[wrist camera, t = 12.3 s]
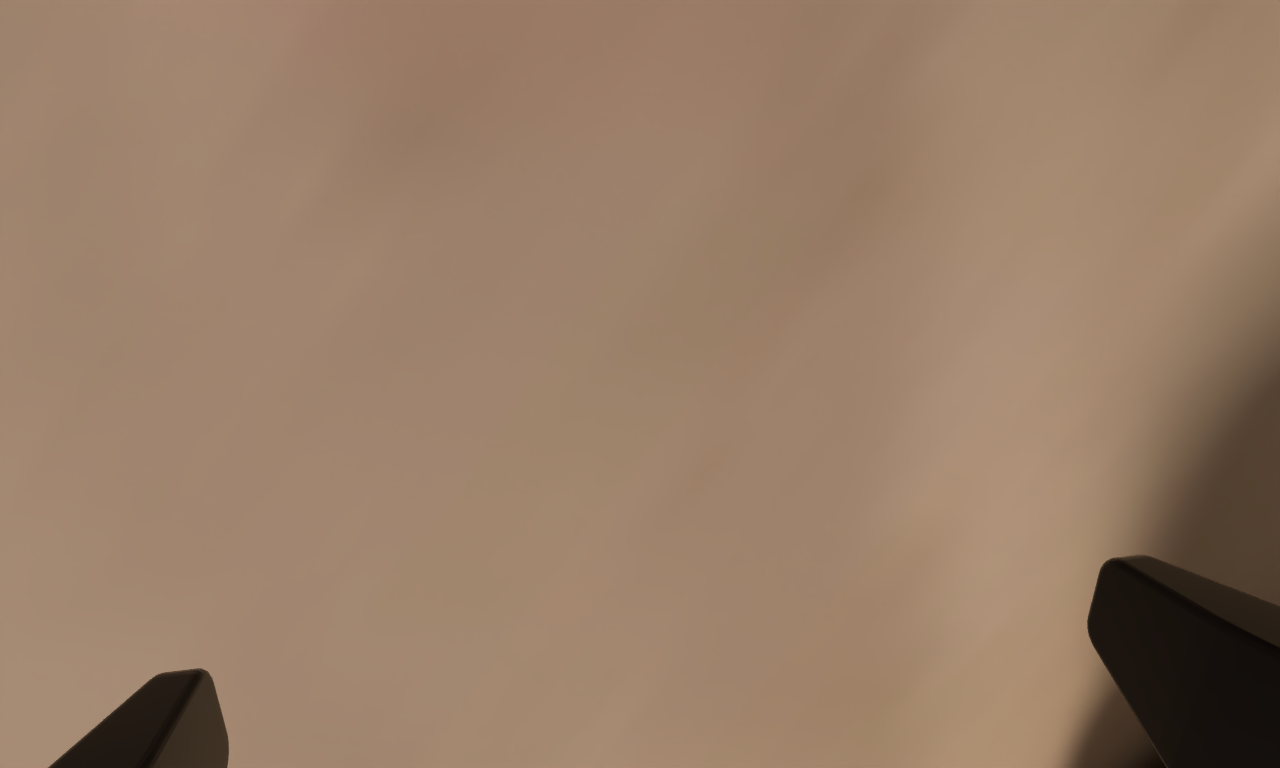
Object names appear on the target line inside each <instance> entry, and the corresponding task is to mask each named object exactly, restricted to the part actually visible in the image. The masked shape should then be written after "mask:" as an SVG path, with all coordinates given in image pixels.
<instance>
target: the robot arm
mask: <svg viewBox="0 0 1280 768" xmlns="http://www.w3.org/2000/svg"><path fill="white" fill-rule="evenodd" d="M1087 626H1088V633H1089V637H1090V639H1091V642H1092V644H1093V646H1094V648H1095V649H1096V651H1097V653H1098V654H1099V656H1100V658H1101V660H1102V661H1103V663H1104V665H1105V666H1106V668H1107V670H1108V671H1109V673H1110V675H1111V676H1112V678H1113V680H1114V681H1115V683H1116V685H1117V686H1118V688H1119V690H1120V691H1121V693H1122V695H1123V696H1124V698H1125V700H1126V701H1127V703H1128V705H1129V706H1130V708H1131V710H1132V711H1133V713H1134V715H1135V716H1136V718H1137V720H1138V721H1139V723H1140V725H1141V726H1142V728H1143V730H1144V731H1145V733H1146V735H1147V737H1148V738H1149V740H1150V742H1151V743H1152V745H1153V747H1154V748H1155V750H1156V752H1157V753H1158V755H1159V756H1160V758H1161V759H1162V761H1163V763H1164V764H1165V766H1166V767H1167V768H1280V606H1277V605H1275V604H1272V603H1270V602H1267V601H1264V600H1262V599H1259V598H1257V597H1254V596H1251V595H1249V594H1246V593H1244V592H1241V591H1238V590H1236V589H1233V588H1231V587H1228V586H1225V585H1223V584H1220V583H1218V582H1215V581H1213V580H1210V579H1207V578H1205V577H1202V576H1200V575H1197V574H1194V573H1192V572H1189V571H1187V570H1184V569H1181V568H1179V567H1176V566H1174V565H1171V564H1168V563H1166V562H1163V561H1161V560H1158V559H1156V558H1153V557H1150V556H1146V555H1134V556H1126V557H1117V558H1112V559H1109V560H1107V561H1106V562H1105V563H1104V564H1103V566H1102V567H1101V569H1100V572H1099V575H1098V579H1097V583H1096V587H1095V591H1094V595H1093V599H1092V603H1091V607H1090V611H1089V615H1088V620H1087ZM228 756H229V742H228V735H227V731H226V727H225V723H224V719H223V716H222V712H221V708H220V704H219V701H218V697H217V693H216V689H215V686H214V682H213V679H212V677H211V676H210V674H209V673H208V672H207V671H206V670H203V669H199V668H198V669H190V670H181V671H173V672H165V673H161V674H158V675H156V676H155V677H153V678H152V679H150V680H149V681H148V682H147V683H146V684H145V685H143V686H142V687H141V688H140V689H139V690H138V691H136V692H135V693H134V694H133V695H132V696H131V697H129V698H128V699H127V700H126V701H125V702H124V703H123V704H121V705H120V706H119V707H118V708H117V709H116V710H114V711H113V712H112V713H111V714H110V715H109V716H107V717H106V718H105V719H104V720H103V721H102V722H100V723H99V724H98V725H97V726H96V727H95V728H94V729H92V730H91V731H90V732H89V733H88V734H87V735H85V736H84V737H83V738H82V739H81V740H80V741H78V742H77V743H76V744H75V745H74V746H73V747H72V748H70V749H69V750H68V751H67V752H66V753H65V754H63V755H62V756H61V757H60V758H59V759H58V760H56V761H55V762H54V763H53V764H52V765H51V766H49V767H48V768H227V765H228Z"/></svg>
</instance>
